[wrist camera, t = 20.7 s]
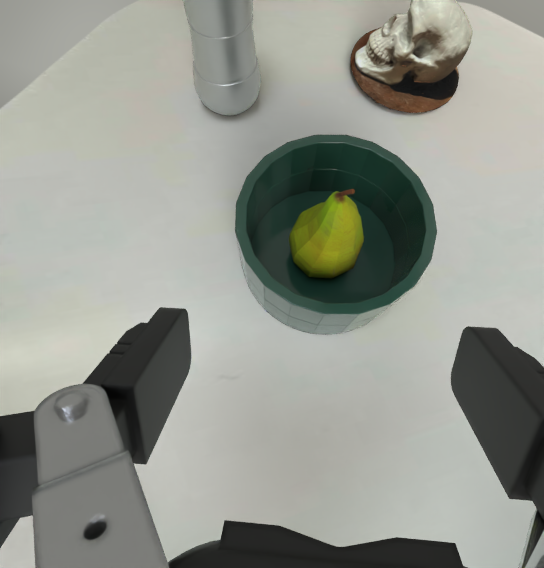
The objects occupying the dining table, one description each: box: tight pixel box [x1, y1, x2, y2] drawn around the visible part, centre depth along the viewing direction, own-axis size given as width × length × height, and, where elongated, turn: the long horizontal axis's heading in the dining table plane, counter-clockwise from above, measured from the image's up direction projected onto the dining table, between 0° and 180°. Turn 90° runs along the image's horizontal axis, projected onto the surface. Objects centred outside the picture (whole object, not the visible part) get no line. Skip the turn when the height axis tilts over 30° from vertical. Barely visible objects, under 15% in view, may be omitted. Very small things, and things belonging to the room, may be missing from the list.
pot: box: [235, 135, 437, 335], centre depth 31 cm, size 15×15×8 cm
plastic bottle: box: [183, 0, 261, 115], centre depth 30 cm, size 6×7×20 cm
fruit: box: [289, 189, 364, 278], centre depth 28 cm, size 6×6×12 cm
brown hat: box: [350, 0, 472, 113], centre depth 40 cm, size 12×10×10 cm
